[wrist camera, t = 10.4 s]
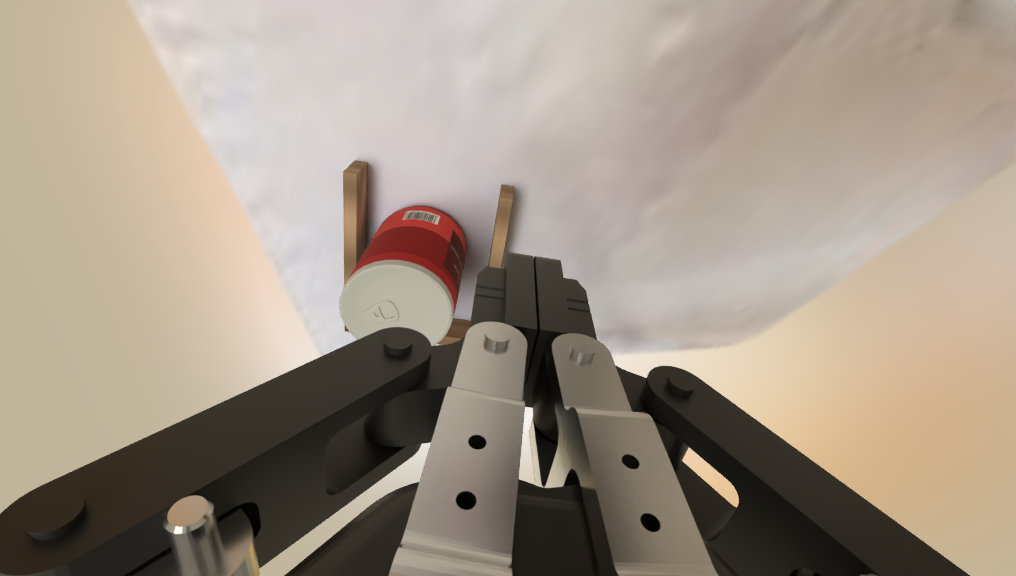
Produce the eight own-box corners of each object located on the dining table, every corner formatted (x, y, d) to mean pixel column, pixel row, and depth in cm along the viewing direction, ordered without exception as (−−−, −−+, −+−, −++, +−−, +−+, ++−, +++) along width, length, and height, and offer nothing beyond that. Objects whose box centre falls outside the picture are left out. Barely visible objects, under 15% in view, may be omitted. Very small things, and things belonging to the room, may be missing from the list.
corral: (354, 160, 39) (343, 172, 37) (513, 186, 40) (513, 199, 38) (354, 312, 47) (344, 331, 45) (487, 331, 48) (486, 350, 45)
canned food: (359, 231, 43) (314, 298, 33) (433, 185, 40) (407, 242, 31) (413, 295, 46) (385, 372, 37) (484, 255, 44) (474, 327, 34)
